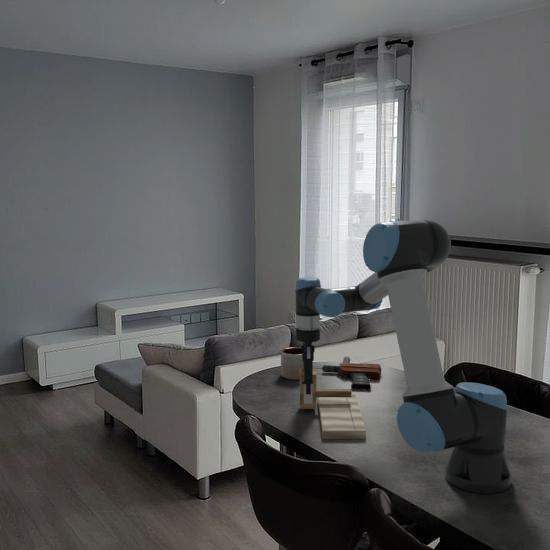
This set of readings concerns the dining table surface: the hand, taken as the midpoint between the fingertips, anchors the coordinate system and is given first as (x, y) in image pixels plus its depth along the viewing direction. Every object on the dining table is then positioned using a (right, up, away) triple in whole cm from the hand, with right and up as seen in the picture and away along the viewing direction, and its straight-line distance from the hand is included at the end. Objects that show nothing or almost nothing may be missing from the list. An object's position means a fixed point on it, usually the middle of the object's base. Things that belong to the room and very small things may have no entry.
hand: (307, 399), depth 202 cm
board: (+9, -5, -7) cm, 13 cm away
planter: (-3, +2, +36) cm, 36 cm away
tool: (+15, +1, +35) cm, 38 cm away
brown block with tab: (+5, -2, 0) cm, 6 cm away
